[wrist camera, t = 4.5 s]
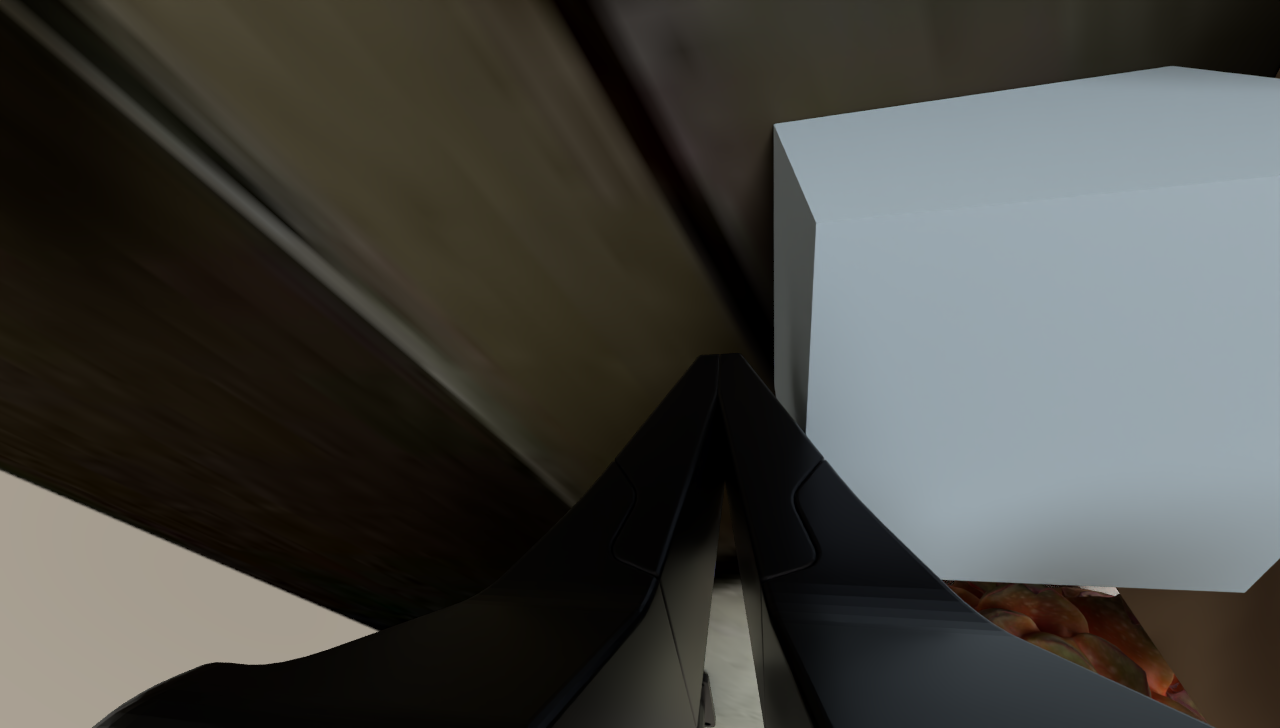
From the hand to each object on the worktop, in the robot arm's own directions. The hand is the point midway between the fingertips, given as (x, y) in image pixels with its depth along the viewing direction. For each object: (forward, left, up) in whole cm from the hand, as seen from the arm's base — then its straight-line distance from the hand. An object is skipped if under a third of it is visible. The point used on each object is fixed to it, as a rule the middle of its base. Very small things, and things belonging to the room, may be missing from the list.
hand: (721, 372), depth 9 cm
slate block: (0, -5, -4) cm, 6 cm away
